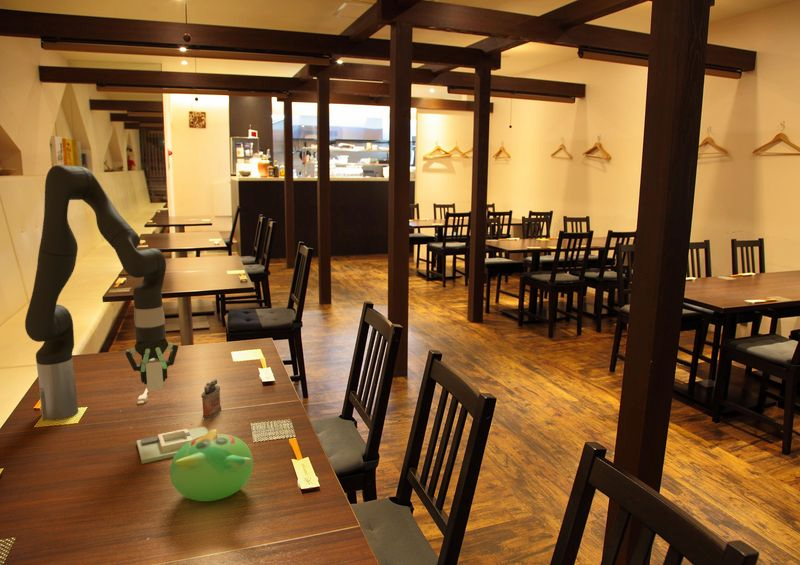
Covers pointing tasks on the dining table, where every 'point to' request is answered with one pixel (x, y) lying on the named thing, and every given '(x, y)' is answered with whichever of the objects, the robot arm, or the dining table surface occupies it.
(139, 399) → the charging cable
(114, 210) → the robot arm
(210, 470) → the toy bird
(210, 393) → the lighter
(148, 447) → the board
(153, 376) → the plug
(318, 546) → the dining table surface
